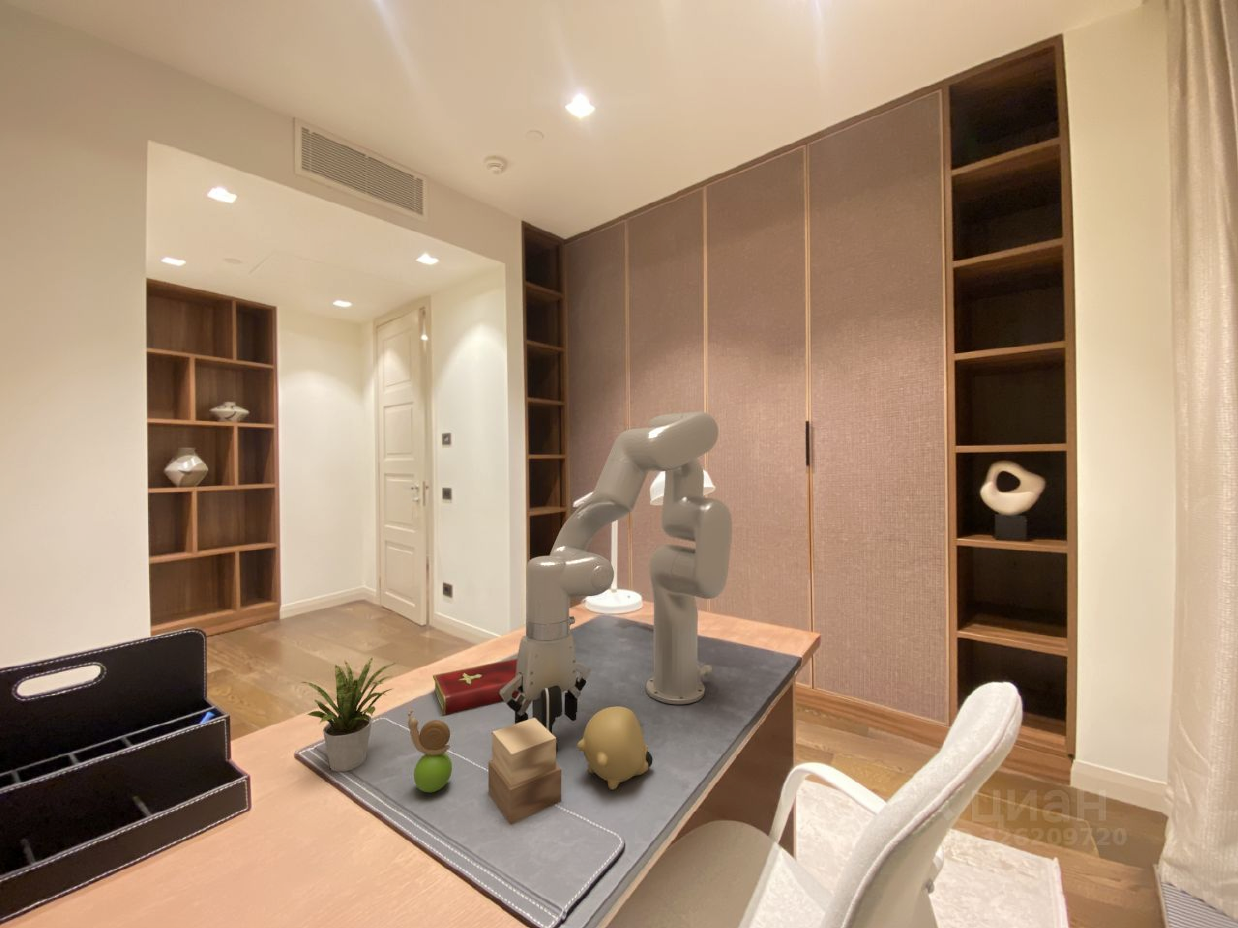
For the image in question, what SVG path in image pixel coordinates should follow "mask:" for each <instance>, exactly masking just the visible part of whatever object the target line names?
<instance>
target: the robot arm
mask: <svg viewBox="0 0 1238 928" xmlns="http://www.w3.org/2000/svg"><path fill="white" fill-rule="evenodd" d="M718 438H719V426H718V423H717V421H716V419H715V418H714V417H713V416H712V415H711V414H709V413H707V412H705V411H689V412H677V413H667V414H666V413H665V414H661V415H657V416H655V417H653V418H652V419H650V420H649V421H648V422H647V425H646V427H641V428H632V429H626V430H624V431H622V432H621V433H619V435H618V436H617V437H616V439H615V441H614V443H613V445H612V448H611V450H610V452H609V455H608V457H607V459H606V462H605V464H604V466H603V469H602V470H601V473H600V475H599V478H598V480H597V482H596V484H595V487H594V489H593V491H592V493H591V494H590V496H589V497H588V498H587V499H586V500H585V501H584V502H583V503H582V504H581V505H580V506H578V508H577V509H576V510H575V511H574V512H573V513H572V514H571V515H570V516H569V517H568V519H567V520H566V521H565V522H564V523H563V525H562V527H561V528H560V531H559V532H558V535H557V537H556V539H555V541H554V544H553V546H552V549H551V551H550V554H549V555H542V556H541V555H540V556H537V557H533V558H531V559H530V560H529V561H528V562H527V565H526V571H525V573H526V576H525V577H526V581H525V582H526V583H525V585H526V586H525V587H526V589H525V590H526V599H525V600H526V604H525V609H526V610H525V615H526V616H525V635H523V636H521V638H520V642H519V647H518V652H517V666H516V677H515V678H514V679H512V680H511V681H510V682H509V683H508V684H507V685H505V686H504V687H503V688H502V689H501V690H500V695H501V696H502V698H503V700H504V701H503V702H504V703H505V704H506V706H508V707H509V709H511V710H513V711H514V724H517V723H520V722H523V721H526V720H529V714H528V713H527V710H528V708H529V707H530V705H531V704H532V700H537V699H540V698H541V692H542V691H543V690H545V689H546V688H550V687H553V686H559V687H560V689H561V693H563V692H565V691H566V692H565V693H564V707H563V708H564V709H563V710H564V712H563V713H564V715H565V717H567V718H568V719H569V720H570V721H571V722H575V721H577V713H578V699H579V698H580V696H581V691H583V689H584V687H585V686H586V684H587V679H588V677H589V676H590V673H591V668H590V667H589V666H587V665H585V664H583V663H580V662H577V656H576V648H575V641H574V636H573V634H572V632H571V631H570V630H571V626H572V625H574V624H575V623H576V618H575V616H574V615H573V616H570V598H573V597H574V598H576V597H594V596H599V595H601V594H603V593H605V592H606V591H608V590H609V589H610V587H611V586H612V584H613V582H614V578H615V571H614V568H613V565H612V563H611V562H610V560H608V559H607V558H606V557H604V556H602V555H600V554H597V553H593V552H589V551H587V549H588V547H589V545H590V543H591V541H592V540H593V538H594V537H595V535H597V533H598V532H600V531H601V530H602V529H603V528H605V527H607V526H608V525H610V524H612V523H614V522H617V521H619V520H620V519H622V518H624V517H626V516H628V515H630V514H631V513H632V512H633V510H634V508H635V506H636V504H637V501H638V500H639V495H640V493H641V490H642V488H643V485H644V483H645V481H646V478H647V477H648V473H649V472H664V476H665V477H664V489H663V497H662V498H663V499H662V507H661V508H662V509H661V521H660V522H661V529H662V530H663V532H664V533H665V535H667V536H668V537H670V538H672V539H673V538H674V539H677V540H683V541H688V542H694V543H695V547H694V548H693V547H689V546H684V545H679V544H665V545H662V546H659V547H658V548H657V549H656V550H655V551H654V552H653V553H652V555H651V557H650V559H649V565H648V569H649V577H650V583H651V589H652V597H653V654H652V655H653V667H652V668H653V672H652V673H653V674H652V675H653V676H652V677H651V678H649V679H648V681H647V682H646V685H645V686H646V687H645V689H646V693H647V694H648V696H650V697H651V698H652V699H654V700H656V701H658V702H661V703H665V704H668V705H669V704H671V705H687V704H693V703H695V702H698V701H699V700H701V699H703V697H704V695H705V691H706V690H705V685H704V684H703V682H702V680H701V679H703V678H704V676H705V677H706V676H708V675H712V674H713V667H712V666H711V665H709V664H706V665H703V666H702V667H700V665H699V664H698V641H699V640H698V636H699V635H698V625H699V623H698V621H699V611H698V605H697V601H696V598H699V599H705V600H712V599H715V598H717V597H719V595H720V594H722V592H723V591H724V589H725V587H726V585H727V581H728V576H729V568H730V556H731V548H732V547H731V546H732V537H733V536H732V535H733V518H732V515H731V512H730V509H729V507H728V505H726V503H725V502H723V501H722V500H720V499H718V498H713V497H704V489H705V488H704V484H705V472H704V468H703V465H702V463H701V461H700V459H699V457H701V456H703V455H706V454H707V453H709V452H710V451H711V450H712V449H713V448H714V446H715V445H716V443H717V441H718ZM695 597H696V598H695ZM577 672H578V673H579V674H578V676H577ZM515 690H517V692H520V693H519V695H518V696H517V698H515V699H513V698H512V693H513V692H514V691H515Z"/></svg>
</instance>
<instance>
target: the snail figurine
mask: <svg viewBox="0 0 1238 928" xmlns="http://www.w3.org/2000/svg"><path fill="white" fill-rule="evenodd" d="M413 712H414V711H413V709H409V711H408V712H407V716H408V717H409V718H408V721H407V724H408V725H407V726H408V728H409V732H410V736H411V737H410V738H411V741H412V744H413V745H414V748H415V749H416V750H417V751H418V752H419V753H422V754H423V755H422V756H421V757H420V758H419V759H418V760H417V763H416V765H415V766H414V772H413V780H414V783H415V785H416V787H417V788H418V789H419V790H421V791H422V792H424V793H435V792H438V791H440V790H441V789H442V788H443V787H444V786H445V785H447V783H448V782H449V780H450V779H451V775H452V771H453V764H452V760H451V757H450V756H449V755H448V754H447V753H446V752H447V751H448V750H449V749H450V748H451V745H450V744H448V743H449V741H450V738H451V731H450V727H449V726H448V725H447V723H445V722H444V721H442V720H440V719H438V720H437V719H435V720H430V721H428V722H427V723H425V724H424V725H423V726H422V727H421V729H420V731H419V727H418V723H419V721H418V719H417V718H416V717H412V713H413Z"/></svg>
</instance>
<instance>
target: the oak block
mask: <svg viewBox="0 0 1238 928" xmlns="http://www.w3.org/2000/svg"><path fill="white" fill-rule="evenodd" d="M491 734H492V735H491V736H492V737H491V739H492V744H491V745H492V747H491V748H492V749H491V754H492V755H491V757H492V759H491V760H492V762H493V763H494V764H495V766H496V767H497V768H498V770H499V771H500V772H501V774H502V775H503V776H504V778H505V779H506V780H507V782H508V783H509V784H510V786H511V787H512V786H514V785H517V784H519V783H521V782H524V781H526V780H529V779H531V778H534V777H536V776H538V775H541V774H543V773H546V772H548V771H551V770H553V769H555V768H556V764H557V751H556V743H557V737H556V736H555V735H554V734H553V733H552V734H551V733H550V732H549V731H548V730H547V729H546V728H545V727H544V726H543V725H542V724H541V723H540V722H539V721H538V720H537V719H536V718H528V720H526V721H523V722H520V723H517V724H515V723H514V724H512V725H507V726H505V727H502V728H499V729H496V730H492V733H491Z"/></svg>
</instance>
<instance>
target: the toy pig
mask: <svg viewBox="0 0 1238 928" xmlns="http://www.w3.org/2000/svg"><path fill="white" fill-rule="evenodd" d="M643 734H644V733H643V731H642V727H641V725H640V722H639V720H638V718H637V716H636V715H635V713H634V711H633V710H631V709H630V708H627V707H624V706H611V707H610V706H609V707H606V708H603V709H601V710H599V711H598V712H596V713H595V714H594V715H593V716H592V717H591V718H590V720H589V721H588V723H587V724H586V726H585V729H584V732H583V736H582V739H581V740H579V741H578V743H577V744H576V747H577V750H578V751H579V752H580V753H581V752H582V753H583V754H584V757H585V760H586V761H587V770H588V771H589V772H590V773H591V774H592V773H595V774H596V775H597V776H598V777H600V778H601V779H603V780H604V781H606V782H607V785H608V788H609V789H611V790H615V789H617V787H618V785H619V784H620V783H622V782H623V783H624V782H625V781H628V780H630V779H631V778H633V777H634V776H640V775H643V774H645V773H646V772H647V771H648V769H649V768H651V766H652V764H653V761H654V760H653V759H654V758H653V755H652V753H650V752H649V751H648V749H649V745H647V744H646V743H645V740H644V735H643Z"/></svg>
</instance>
